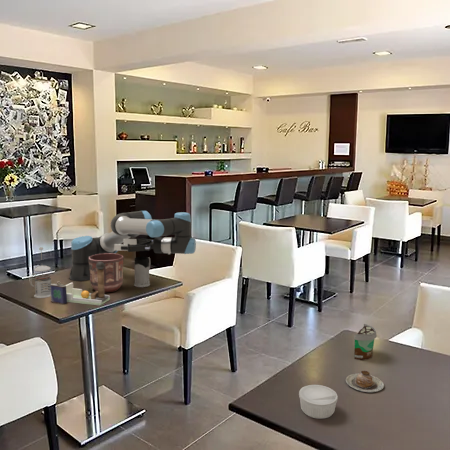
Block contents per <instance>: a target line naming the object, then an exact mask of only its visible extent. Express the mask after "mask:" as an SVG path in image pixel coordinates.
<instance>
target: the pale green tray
mask: <svg viewBox="0 0 450 450" xmlns="http://www.w3.org/2000/svg"><path fill="white" fill-rule="evenodd" d="M65 286H66V295H67V303H75V304H83V305H94V306H102V305H104V304H105V303H106V302H108V301H110V300H111V296H110V294H109V295H108V294H106V295H107V296H108V298H107V299H106V300H104V301H102V300H95V299H91V294H92V293H91V292H89V297H88V298H86V299H85V298H82V297H81V293H82V291H83V289H82V288H74V282H73V281H72V282H70V283H67V284H65Z"/></svg>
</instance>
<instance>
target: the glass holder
mask: <svg viewBox="0 0 450 450" xmlns="http://www.w3.org/2000/svg"><path fill="white" fill-rule="evenodd" d="M150 269H151V258H150V256H149V257H148V256H137V257H134V284H133V286H134V287H135V288H147V287H150V286H151V283H150Z"/></svg>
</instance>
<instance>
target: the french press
mask: <svg viewBox="0 0 450 450" xmlns="http://www.w3.org/2000/svg"><path fill="white" fill-rule="evenodd" d="M38 250H40V254H41V256H40V257H41V259H43V257H42V256H43V255H42V253H43V252H42V250H44V248H43V246H41V247H40V246H39V248H38ZM33 270H34V271H35V272H42V274H39V275H37V273H35V272H33V273H31V275H30V276H29V279H28V280H29V284H30V286H32V287H34V289H35V291H34V292H35V294H34V295H33V298H37V299H44V298H51V287H50V285H51V284H52V278H51V275H50V274H43V273H44V272H47V271H50V270H51V267H50V266H47V265H43V264H41V265H39V266H37V267H34V269H33ZM34 276H35V280H34V285H33V283H32V280H33V277H34Z"/></svg>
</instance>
